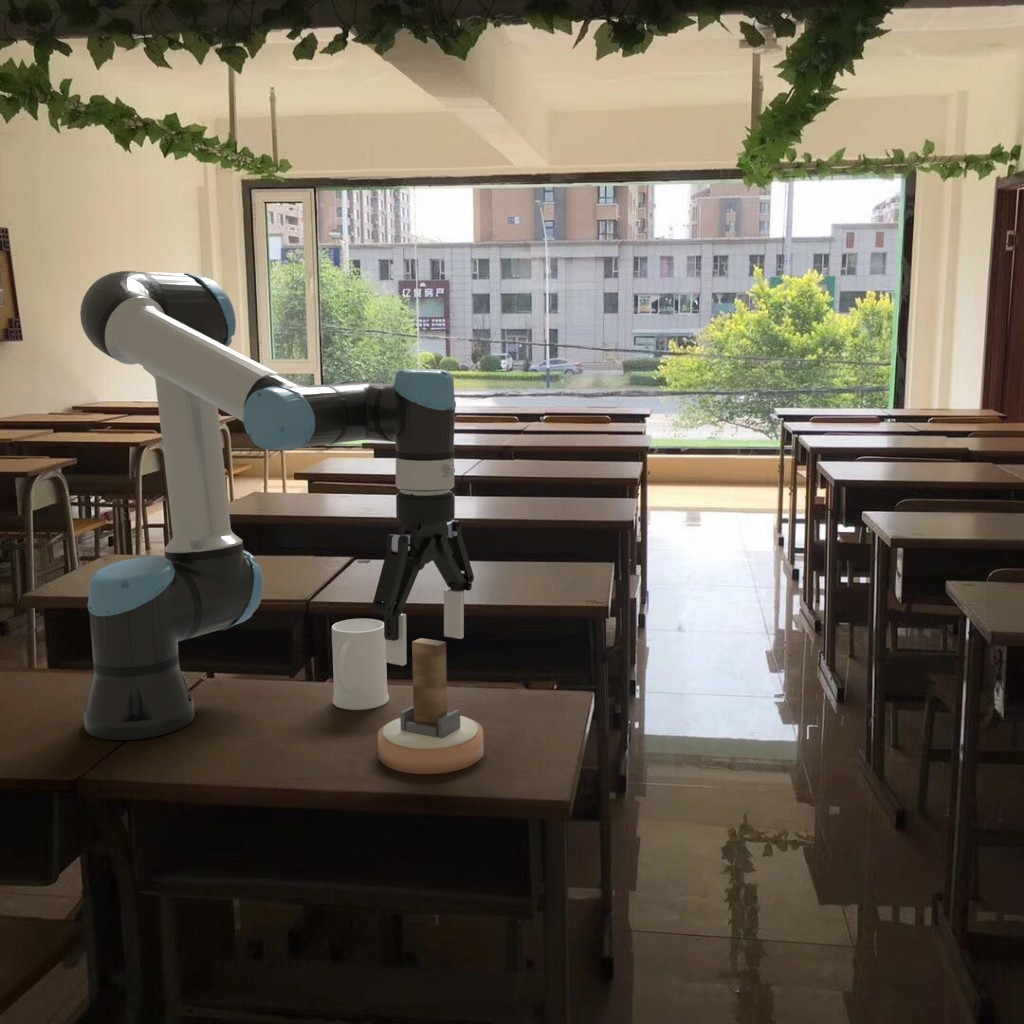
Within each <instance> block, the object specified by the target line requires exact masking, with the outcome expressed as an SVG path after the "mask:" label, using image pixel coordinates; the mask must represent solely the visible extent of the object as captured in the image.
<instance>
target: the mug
mask: <svg viewBox="0 0 1024 1024" xmlns="http://www.w3.org/2000/svg"><path fill="white" fill-rule="evenodd" d="M331 646H332V648H331V649H332V671H333V672H332V673H333V697H332V703H333V705H334V707H336V708H339V709H343V710H350V711H363V710H364V711H365V710H371V709H377V708H379V707H382V706H384V705H386V704H387V703H388V702H389V700H390V695H389V692H388V678H387V677H388V675H387V672H388V671H387V662H386V653H385V637H384V621H382V620H379V619H375V618H374V619H373V618H351V619H345V620H341V621H338V622H335V623H334V624H333V625H332V626H331Z"/></svg>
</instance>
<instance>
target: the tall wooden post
mask: <svg viewBox="0 0 1024 1024" xmlns="http://www.w3.org/2000/svg"><path fill="white" fill-rule="evenodd" d="M411 649H412V653H411V654H412V656H411V657H412V688H413V689H412V690H413V691H412V694H413V695H412V696H413V705H414V723H419V724H424V725H429V726H434V727H438V719H440V718H442V717H443V716H445V715H447V713H448V686H447V685H448V682H447V676H448V675H447V642H446V641H443V640H437V639H429V638H423V637H421V638H418V639H415V640H413V641H411Z"/></svg>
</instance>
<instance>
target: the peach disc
mask: <svg viewBox="0 0 1024 1024" xmlns="http://www.w3.org/2000/svg"><path fill="white" fill-rule="evenodd" d="M399 712H400V714H399V716H400V717H399V718H396V719H393V720H391V721H389V722H388V723H386V724H384V725H383V726H382V727H380V728H379V730H378V732H377V750H378V753H377V755H378V756H377V757H378V760H379V761H380V763H381V764H382V765H384V766H385V767H386V768H389V769H391V770H393V771H397V772H401V773H406V774H414V775H437V774H447V773H451V772H457V771H459V770H460V771H461V770H463V769H466V768H469V767H472V766H473V765H475V764H476V763H478V762H479V761H480V760H481V759H482V758H483V756H484V729H483V726H482V725H481V724H480V723H479V722H477V721H475V720H473V719H472V718H469V717H466V716H463V715H461V709H457V708H455V709H454V710H451V711H450V712H447V715H445V716H443V717H442V718H440V719H438V727H434V726H429V725H424V724H419V723H414V704H413V705H411V706H409V707H406V708H405V709H404V710H401V711H399Z"/></svg>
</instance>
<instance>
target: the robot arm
mask: <svg viewBox="0 0 1024 1024" xmlns="http://www.w3.org/2000/svg"><path fill="white" fill-rule="evenodd" d="M79 315H80V316H79V318H80V323H81V327H82V329H83V332H84V334H85V336H86V337H87V339H88V340H89V341H90V342H91V344H92V345H93V346H94V347H96V348H97V349H98V350H99V351H101V352H102V353H104V354H105V355H106V356H108V357H110V358H111V359H114V360H116V361H117V362H119V363H121V364H124V365H130V366H131V365H133V366H134V365H137V364H138V365H140V366H142V368H143V370H144V371H146V372H148V374H149V375H150V376H152V377H153V378H154V382H155V389H156V398H157V406H158V407H157V409H158V416H159V424H160V425H159V426H160V433H161V442H162V452H163V460H164V467H165V468H164V469H165V475H166V476H165V477H166V486H167V494H168V503H169V504H168V505H169V511H170V520H171V521H170V522H171V529H172V537H171V538H172V539H170V541H169V542H168V543H167V545H166V546H165V547H164V548H163V552H164V557H162V556H141V557H138V558H137V557H136V558H134V559H133V558H129V559H124V560H120V561H117V562H114V563H111V564H107V565H106V566H104V567H102V568H100V569H98V570H97V571H96V572H95V573H93V575H92V576H91V577H90V580H89V583H88V601H87V609H88V610H87V611H88V612H89V624H90V626H89V627H90V637H91V638H90V639H91V648H92V649H91V651H92V661H93V662H92V665H93V679H92V683H91V684H92V685H91V687H90V690H89V692H90V693H89V697H88V702H87V706H86V708H85V711H84V713H83V720H84V731H85V732H86V733H87V734H88V735H90V736H92V737H94V738H97V739H102V740H110V741H111V740H112V741H132V740H133V741H134V740H142V739H149V738H155V737H158V736H159V737H160V736H163V735H166V734H169V733H173V732H176V731H178V730H180V729H182V728H184V727H186V726H188V725H190V723H192V721H193V720H194V719H195V715H196V714H195V701H194V698H193V696H192V695H191V694H190V689H189V688H188V685H187V682H186V679H185V677H184V675H183V673H182V670H181V668H180V662H179V661H180V660H179V642H181V641H186V640H189V639H192V638H195V637H199V636H203V635H206V634H210V633H213V632H216V631H224V630H228V629H231V628H232V627H234V626H235V625H238V624H241V623H244V622H246V621H247V620H249V619H250V618H251V617H252V616H253V615H254V613H255V612H256V610H257V609H258V608H259V605H260V603H261V601H262V597H263V593H264V576H263V572H262V569H261V566H260V564H259V563H256V558H255V556H254V555H252V553H250V552H249V551H248V550H245V549H244V544H243V543H244V542H243V539H242V538H241V537H239V536H237V535H236V534H235V533H234V532H233V531H232V528H231V518H230V509H229V508H230V507H229V501H228V500H229V499H228V491H227V490H228V489H227V478H226V471H225V462H224V454H223V453H224V452H223V443H222V434H221V433H222V432H221V425H220V416H219V409H220V410H221V411H223V412H224V413H227V414H228V415H230V416H231V417H234V418H235V419H237V420H239V421H240V422H242V423H243V427H244V428H245V431H246V434H247V435H249V437H250V438H251V440H252V442H253V443H254V445H256V446H257V447H259V448H260V449H264V450H268V451H277V450H279V451H284V452H285V451H292V450H296V449H302V448H307V447H309V448H310V447H316V446H323V445H331V444H340V443H349V442H357V441H381V442H382V441H384V442H392V443H395V487H396V488H397V489H398V490H399V491H398V492H397V494H395V498H396V499H395V501H396V503H395V507H396V509H395V511H396V513H395V515H396V519H397V520H398V522H401V524H403V529H402V534H401V535H400V534H393V533H392V534H391V533H390V534H388V535H387V536H386V537H387V538H386V553H385V556H384V560H383V563H382V568H381V570H380V575H379V578H378V583H377V586H376V589H375V593H374V598H373V601H372V605H371V610H372V611H373V612H375V613H378V614H382V615H383V622H384V637H385V653H386V664H388V663H389V664H392V665H398V666H402V667H403V666H405V665H407V656H408V655H407V614H406V613H403V610H404V608H405V605H406V604H407V601H408V598H409V596H410V593H411V591H412V589H413V586H414V584H415V581H416V579H417V577H418V574H419V572H420V571H421V570H423V569H424V568H425V565H427V564H429V563H431V562H433V563H434V564H435V566H436V569H437V570H438V572H439V573H440V575H441V576H442V579H443V580H444V582H445V583H446V585H447V587H448V588H446V589H443V637H447V638H453V639H459V640H461V639H463V638H464V633H465V632H464V629H465V627H464V626H465V624H464V622H465V621H464V620H465V619H464V617H465V612H464V609H465V591H469V592H470V591H471V590H472V586H473V583H474V581H475V576H474V572H473V568H472V565H471V561H470V559H469V555H468V551H467V548H466V545H465V542H464V541H465V540H464V538H463V533H462V532H463V529H462V527H463V526H462V521H461V520H456V519H455V516H456V514H455V513H456V511H455V510H456V509H455V508H456V507H455V506H456V503H455V501H456V500H455V499H456V497H455V493H454V491H452V489H453V488H454V487H455V472H456V469H455V449H454V448H455V447H454V446H455V445H454V444H455V423H456V422H455V421H456V420H455V417H456V407H457V403H456V399H455V398H456V397H455V382H454V381H455V380H454V376H453V375H452V373H451V372H450V371H448V370H445V369H439V368H438V369H435V368H431V369H428V368H408V369H407V368H406V369H405V368H404V369H399V370H397V371H396V373H395V377H394V383H382V382H381V383H380V382H379V383H378V382H364V381H359V380H344V381H335V382H331V383H330V384H311V385H309V384H308V385H305V384H304V385H303V384H300V383H299V382H296V381H293V380H292V379H290V378H288V377H286V376H284V375H282V374H280V373H279V372H277V371H274V370H272V369H271V368H269V367H267V366H265V365H263V364H261V363H259V362H257V361H255V360H254V359H252V358H250V357H248V356H246V355H244V354H243V353H242V354H241V353H240V352H238V351H236V350H234V349H232V348H230V347H229V346H230V345H231V343H232V341H233V338H232V337H234V336H235V333H236V325H237V323H236V320H237V319H236V313H235V309H234V307H233V303H232V302H231V300H230V296H229V295H228V294H227V293H226V291H225V290H224V289H223V287H221V286H220V285H219V283H217V282H216V281H214V280H213V279H211V278H209V277H206V276H201V275H195V274H190V273H186V272H185V273H177V272H175V273H173V272H172V273H171V272H150V271H149V272H148V271H147V272H144V271H143V272H142V271H134V270H131V271H130V270H121V271H116V272H110V273H109V274H106V275H103V276H102V277H100V278H99V279H96V280H95V281H94V283H93V284H91V286H89V288H88V289H87V291H86V292H85V294H84V296H83V298H82V301H81V305H80V312H79ZM449 588H450V589H449Z"/></svg>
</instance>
